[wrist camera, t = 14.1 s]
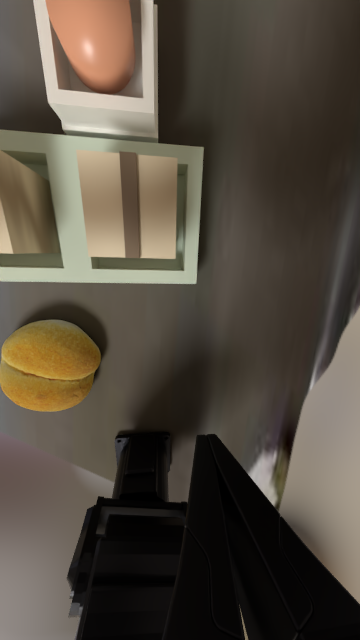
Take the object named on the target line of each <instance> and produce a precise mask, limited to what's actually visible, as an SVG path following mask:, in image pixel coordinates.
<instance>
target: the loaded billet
mask: <svg viewBox="0 0 360 640" xmlns="http://www.w3.org/2000/svg"><path fill="white" fill-rule="evenodd" d="M76 153H77V162H78V171H79V179H80V188H81V196H82V205H83V213H84V222H85V231H86V239H87V248H88V256H89V257H121V258H158V259H175V258H176V209H177V160H178V158H174V157H161V156H149V155H137V154H136V153H135V152H122V151H119V153H112V152H99V151H87V150H76Z"/></svg>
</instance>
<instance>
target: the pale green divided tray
mask: <svg viewBox="0 0 360 640" xmlns="http://www.w3.org/2000/svg"><path fill="white" fill-rule="evenodd" d="M0 150H2V151H3V152H5V153H6V154H8V155H9V156H11V157H12V158H14V159H16V160H17V161H19V162H20V163H22V164H23V165H25V166H26V167H28V168H30V169H31V170H33V171H34V172H36V173H37V174H39V175H40V176H42V177H44V178H45V179H47V180H48V181H49V185H50V191H51V197H52V204H53V210H54V216H55V223H56V229H57V235H58V241H59V248H60V253H25V254H8V253H0V281H22V282H94V283H166V284H196V278H197V260H198V242H199V224H200V206H201V188H202V170H203V152H204V147H195V146H184V145H172V144H161V143H149V142H138V141H126V140H115V139H103V138H92V137H80V136H69V135H57V134H46V133H34V132H23V131H12V130H0ZM76 150H87V151H99V152H112V153H119V151H122V152H135V153H136V154H137V155H149V156H161V157H174V158H178V160H177V209H176V258H175V259H158V258H121V257H89V256H88V248H87V239H86V231H85V222H84V213H83V205H82V196H81V188H80V179H79V171H78V162H77V153H76Z"/></svg>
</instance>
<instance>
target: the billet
mask: <svg viewBox="0 0 360 640" xmlns="http://www.w3.org/2000/svg"><path fill="white" fill-rule="evenodd" d="M0 253H8V254H25V253H60V248H59V241H58V235H57V229H56V223H55V216H54V210H53V204H52V197H51V191H50V185H49V181H48V180H47V179H45V178H44V177H42V176H40V175H39V174H37V173H36V172H34V171H33V170H31V169H30V168H28V167H26V166H25V165H23V164H22V163H20V162H19V161H17V160H16V159H14V158H12V157H11V156H9V155H8V154H6V153H5V152H3V151H2V150H0Z"/></svg>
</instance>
